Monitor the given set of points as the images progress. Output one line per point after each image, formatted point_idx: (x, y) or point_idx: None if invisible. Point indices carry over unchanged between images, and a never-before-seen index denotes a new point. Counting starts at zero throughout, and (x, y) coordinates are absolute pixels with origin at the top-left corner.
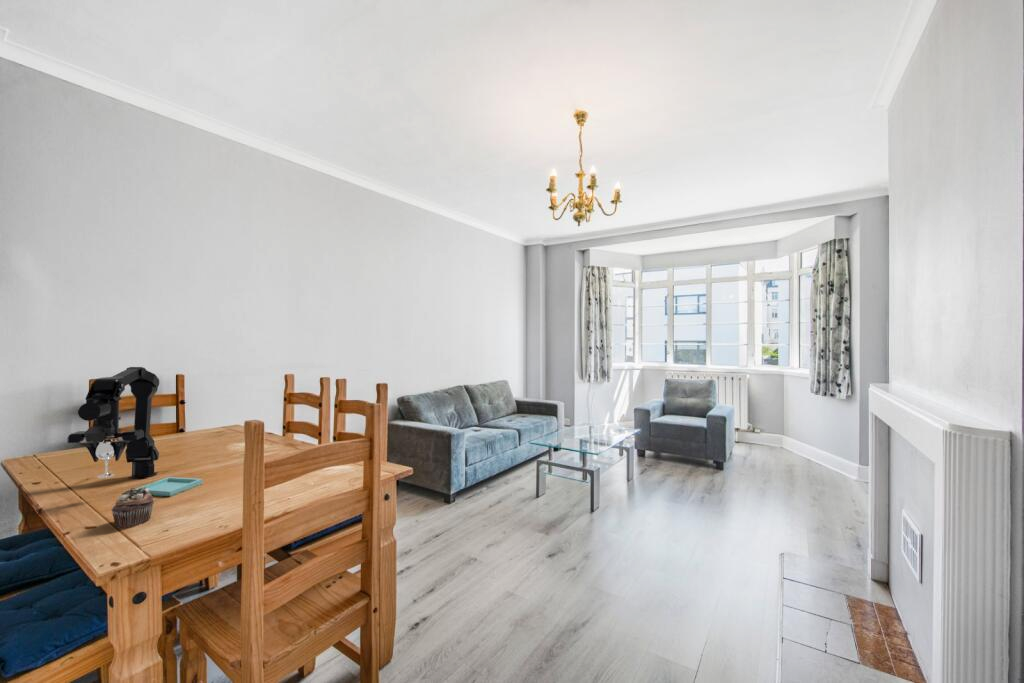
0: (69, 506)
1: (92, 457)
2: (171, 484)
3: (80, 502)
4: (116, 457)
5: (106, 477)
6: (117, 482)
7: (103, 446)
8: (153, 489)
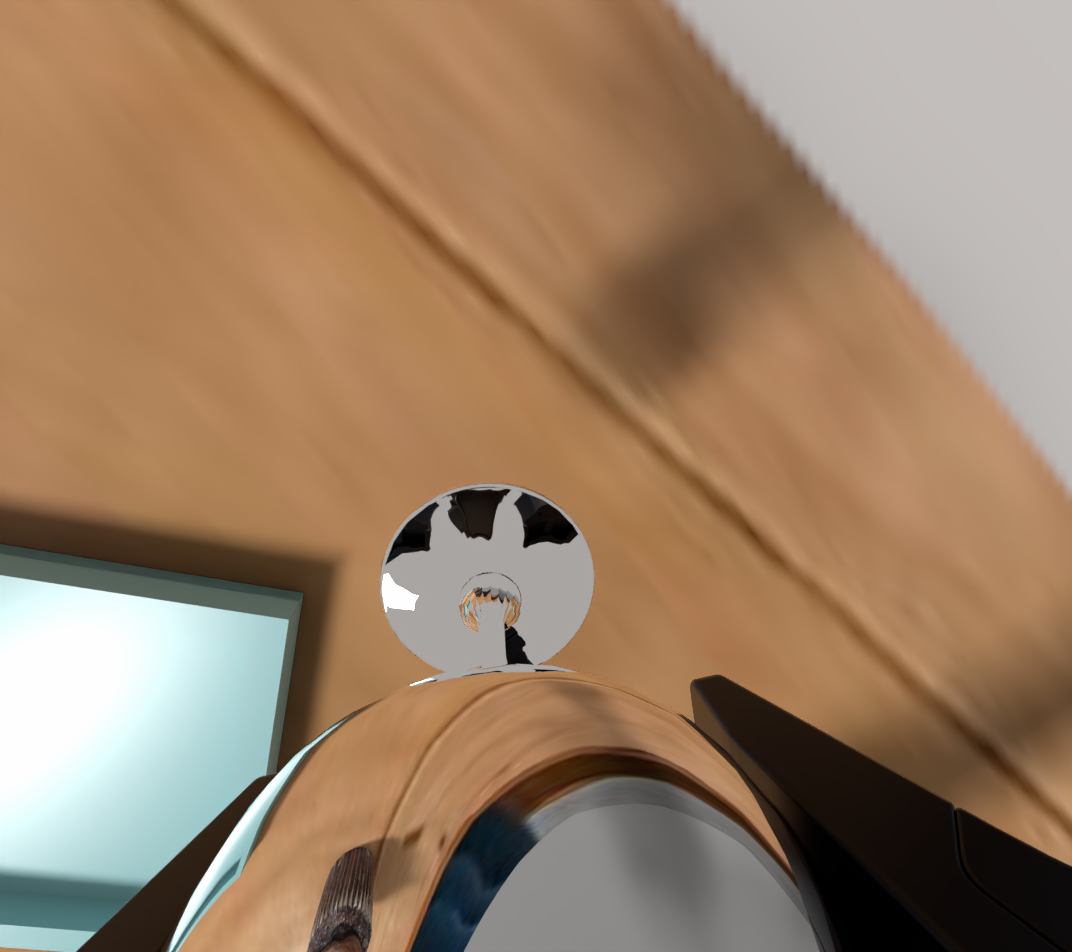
0: (679, 276)
1: (805, 726)
2: (109, 828)
3: (655, 389)
4: (217, 836)
5: (419, 506)
6: None
7: None
8: (169, 693)
